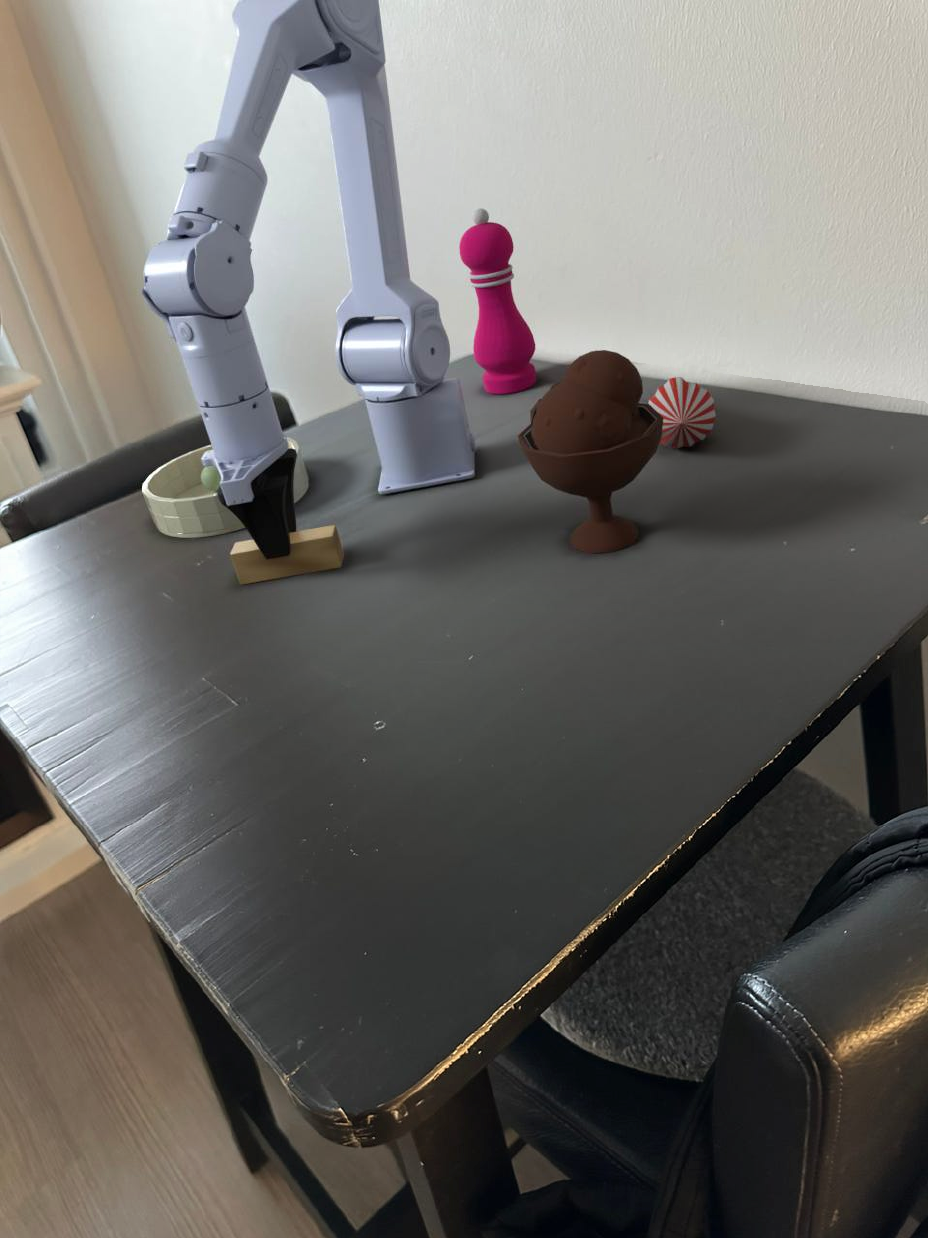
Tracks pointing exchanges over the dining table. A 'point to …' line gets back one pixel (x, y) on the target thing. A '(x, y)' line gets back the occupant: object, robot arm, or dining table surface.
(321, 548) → the wooden block
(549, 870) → the dining table surface
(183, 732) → the dining table surface
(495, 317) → the pepper mill
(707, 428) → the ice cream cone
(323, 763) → the dining table surface
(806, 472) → the dining table surface
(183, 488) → the cream round tray
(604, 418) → the ice cream bowl
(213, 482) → the ball
